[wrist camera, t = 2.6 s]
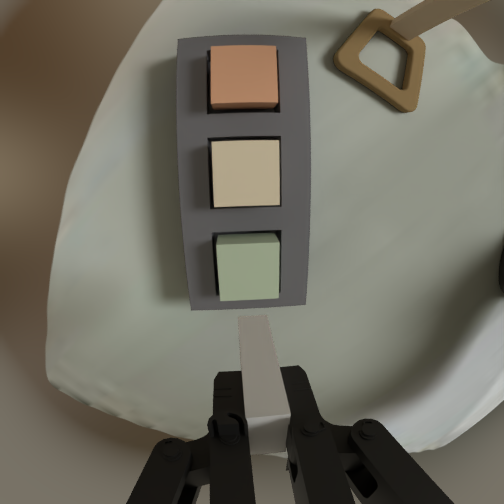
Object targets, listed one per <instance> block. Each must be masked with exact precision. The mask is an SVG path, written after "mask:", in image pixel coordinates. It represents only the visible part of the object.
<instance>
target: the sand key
mask: <svg viewBox="0 0 504 504" xmlns="http://www.w3.org/2000/svg"><path fill="white" fill-rule="evenodd" d="M212 167H213V192H214V207H230V206H259V205H280V171H279V140H242V141H216V142H212Z"/></svg>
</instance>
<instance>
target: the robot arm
mask: <svg viewBox="0 0 504 504" xmlns="http://www.w3.org/2000/svg"><path fill="white" fill-rule="evenodd" d="M499 282H500V287H501V290H502V291H503V292H504V250H503V254H502V258H501V263H500V270H499ZM238 327H239V344H240V361H241V371H228V372H219V373H218V374H217V376H216V377H215V379H214V392H213V415H212V416H211V417H210V418H209V420H208V424H207V426H208V430H209V433H208V434H207V435H206V436H204V437H202V438H200V439H197V440H194V441H189V442H184V441H182V440H180V439H178V438H167V439H163V440H162V441H160V442H158V443H157V444H156V446H155V447H154V449H153V451H152V453H151V455H150V457H149V459H148V461H147V463H146V465H145V467H144V469H143V471H142V473H141V475H140V477H139V479H138V481H137V483H136V485H135V487H134V489H133V491H132V493H131V495H130V497H129V499H128V501H127V503H126V504H196V501H197V498H198V495H199V492H200V489H201V486H202V485H206V484H210V504H256V502H255V493H254V484H253V475H252V465H251V455H256V454H267V453H277V452H286V447H287V452H288V460H287V466H286V470H289V473H290V478H291V483H292V488H293V493H294V498H295V502H296V504H355V501H354V499H353V495H352V492H351V489H352V491H353V492H354V494H355V495H356V496H357V498H358V499H359V500H360V502H361V503H362V504H454V503H453V502H452V501H451V500H450V499H449V497H448V496H446V494H445V493H444V492H443V491H442V490H441V489H440V488H439V487H438V486H437V485H436V484H435V482H434V481H433V480H432V479H431V478H430V477H429V476H428V475H427V474H426V473H425V472H424V470H423V469H422V468H421V467H420V466H419V465H418V464H417V463H416V462H415V460H414V459H413V458H412V457H411V456H410V455H409V454H408V453H407V452H406V450H405V449H404V448H403V447H402V446H401V445H400V444H399V443H398V442H397V440H396V439H395V438H394V437H393V436H392V435H391V434H390V433H389V431H388V430H387V429H386V428H385V427H384V426H383V425H382V424H381V423H380V422H378V421H376V420H373V419H362V420H359V421H357V422H356V423H355V424H354V425H353V426H339V425H333V424H331V423H328V422H327V421H325V420H324V419H323V418H322V417H321V415H320V413H319V410H318V407H317V404H316V401H315V398H314V395H313V392H312V389H311V386H310V383H309V380H308V377H307V374H306V372H305V371H304V370H303V369H302V368H301V367H300V366H299V365H297V366H288V367H279V362H278V358H277V354H276V350H275V346H274V342H273V337H272V333H271V329H270V325H269V321H268V317H267V315H257V316H239V317H238ZM350 488H351V489H350Z"/></svg>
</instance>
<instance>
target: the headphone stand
mask: <svg viewBox="0 0 504 504" xmlns="http://www.w3.org/2000/svg"><path fill="white" fill-rule="evenodd" d="M488 1H490V0H424V1H423V2H421V3H419V4H417V5H416V6H414V7H412V8H411V9H409V10H408V11H406V12H404V13H403V14H401V15H399V16H398V17H396V18H394V17H392V16H391V15H389V14H388V13H386V12H385V11H383V10H381V9H374V10H373V11H371V12H370V13H369V14H368V16H367V17H366V18H365V19H364V20H363V21H362V22H361V24H360V25H359V26H358V27H357V28H356V29H355V30H354V32H353V33H352V34H351V35H350V36H349V38H348V39H347V40H346V41H345V42H344V43H343V45H342V46H341V47H340V48H339V49H338V51H337V52H336V53H335V54H334V57H333V61H334V64H335V66H336V67H337V68H338V69H339V70H340V71H342V72H343V73H345V74H347V75H348V76H350V77H352V78H353V79H355V80H356V81H358V82H359V83H361V84H363V85H364V86H366V87H367V88H369V89H370V90H372V91H373V92H375V93H376V94H377V95H379V96H380V97H382V98H383V99H385V100H386V101H387V102H389V103H390V104H391V105H393V106H394V107H395V108H397V109H398V110H399V111H401V112H404V113H408V112H412V111H414V110H415V109H416V107H417V103H418V98H419V92H420V86H421V80H422V73H423V66H424V58H425V49H426V46H425V43H424V41H423V40H422V39H421V38H420V37H419V36H418V35H420V34H422V33H424V32H426V31H428V30H429V29H431V28H433V27H435V26H437V25H439V24H441V23H443V22H445V21H447V20H449V19H451V18H453V17H455V16H457V15H459V14H461V13H463V12H465V11H467V10H470V9H472V8H474V7H476V6H478V5H481V4H483V3H485V2H488ZM377 31H380V32H382V33H383V34H385V35H386V36H387V37H389V38H390V39H392V40H393V41H394V42H396V43H397V44H399V45H400V46H401V47H403V48H404V49H405V50H406V52H407V54H408V56H407V63H406V69H405V75H404V80H403V86H402V89H401V90H400V89H398V88H397V87H395V86H394V85H393V84H391V83H390V82H389V81H387V80H386V79H384V78H383V77H382V76H380V75H379V74H377V73H376V72H374V71H373V70H371V69H370V68H368V67H367V66H365V65H364V64H363V63H362V62H361V61H360V60H359V53H360V52H361V50H362V49H363V48H364V47H365V45H366V44H367V43H368V42H369V40H370V39H371V38H372V37H373V35H374V34H375V33H376V32H377Z"/></svg>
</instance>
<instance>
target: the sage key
mask: <svg viewBox="0 0 504 504" xmlns="http://www.w3.org/2000/svg"><path fill="white" fill-rule="evenodd" d="M216 248H217V264H218V278H219V291H220V301H236V300H257V299H275V298H279V250H280V242H279V240H278V239H277V237H276V235H275V233H252V234H227V235H218V238H217V244H216Z"/></svg>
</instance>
